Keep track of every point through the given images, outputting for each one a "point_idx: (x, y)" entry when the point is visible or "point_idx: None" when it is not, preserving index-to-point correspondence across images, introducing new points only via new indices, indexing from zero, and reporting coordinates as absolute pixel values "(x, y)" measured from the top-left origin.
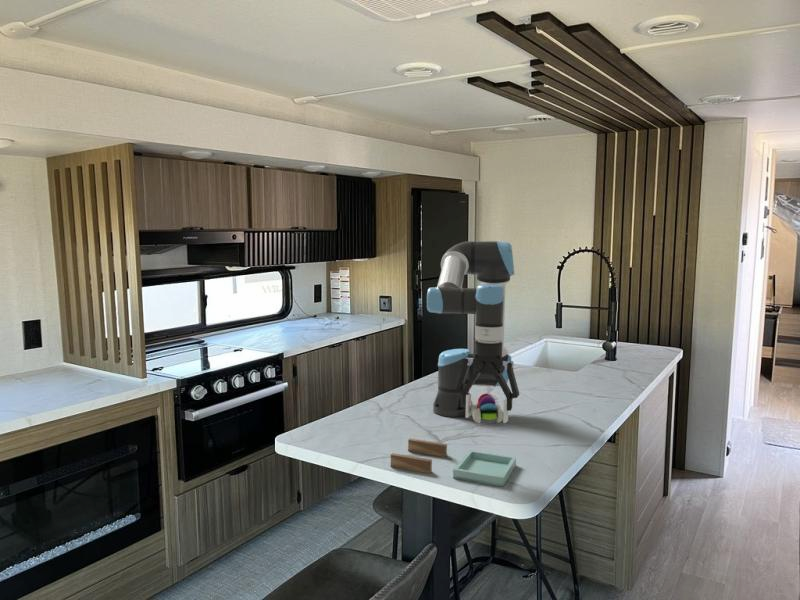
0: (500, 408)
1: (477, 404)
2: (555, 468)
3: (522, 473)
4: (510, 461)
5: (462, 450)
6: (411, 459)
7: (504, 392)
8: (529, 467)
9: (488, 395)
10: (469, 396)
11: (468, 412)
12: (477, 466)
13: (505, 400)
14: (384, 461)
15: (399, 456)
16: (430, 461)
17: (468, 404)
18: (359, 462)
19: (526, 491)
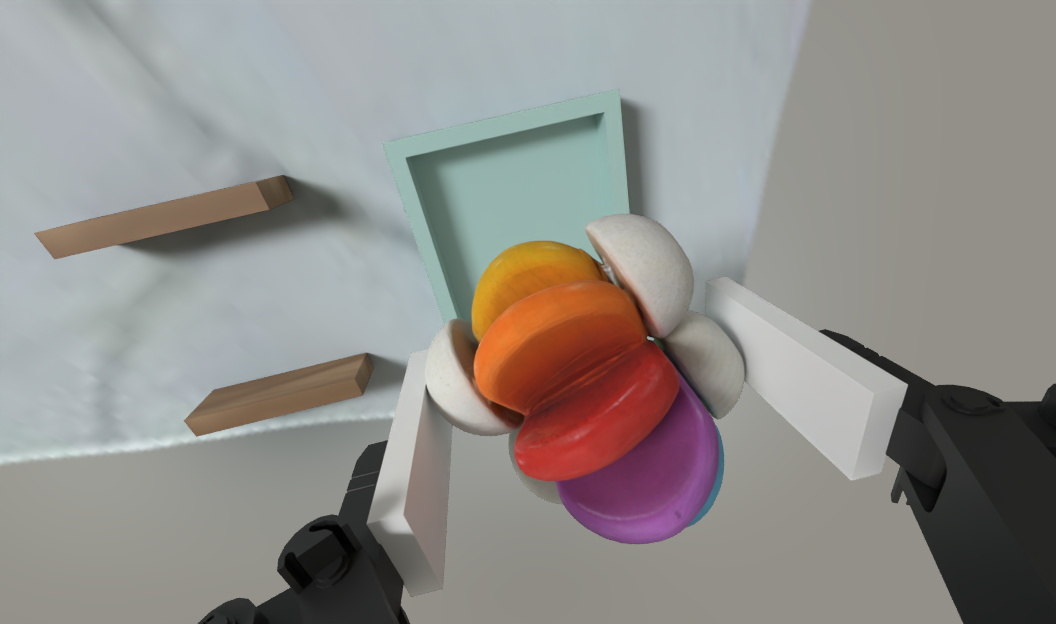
0: (693, 280)
1: (492, 402)
2: (771, 5)
3: (653, 161)
4: (612, 161)
5: (289, 54)
6: (288, 411)
7: (946, 559)
8: (663, 73)
9: (638, 443)
10: (431, 539)
11: (449, 427)
12: (484, 231)
13: (862, 470)
14: (161, 386)
15: (235, 426)
16: (360, 388)
17: (446, 487)
18: (109, 442)
19: (699, 295)
